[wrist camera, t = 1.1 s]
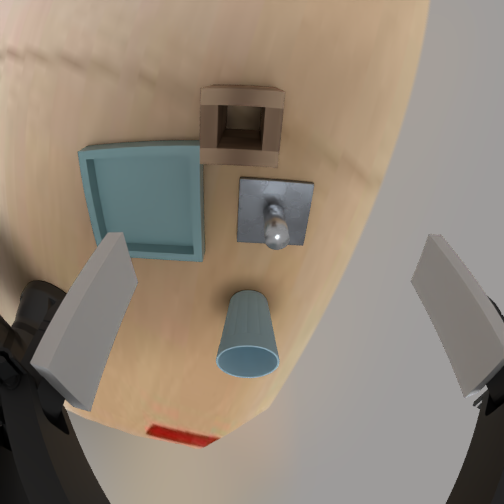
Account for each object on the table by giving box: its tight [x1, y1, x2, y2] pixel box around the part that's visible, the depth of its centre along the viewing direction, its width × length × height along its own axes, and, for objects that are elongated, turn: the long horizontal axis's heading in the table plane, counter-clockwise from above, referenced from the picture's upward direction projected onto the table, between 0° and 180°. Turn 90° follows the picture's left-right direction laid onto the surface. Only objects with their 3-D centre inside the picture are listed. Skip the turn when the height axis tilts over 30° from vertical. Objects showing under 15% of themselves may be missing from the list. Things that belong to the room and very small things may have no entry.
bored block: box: [200, 85, 285, 168], centre depth 23 cm, size 6×6×8 cm
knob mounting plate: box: [237, 177, 314, 250], centre depth 30 cm, size 8×8×6 cm
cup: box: [216, 290, 279, 378], centre depth 37 cm, size 8×8×10 cm
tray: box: [78, 140, 205, 262], centre depth 30 cm, size 14×14×2 cm
